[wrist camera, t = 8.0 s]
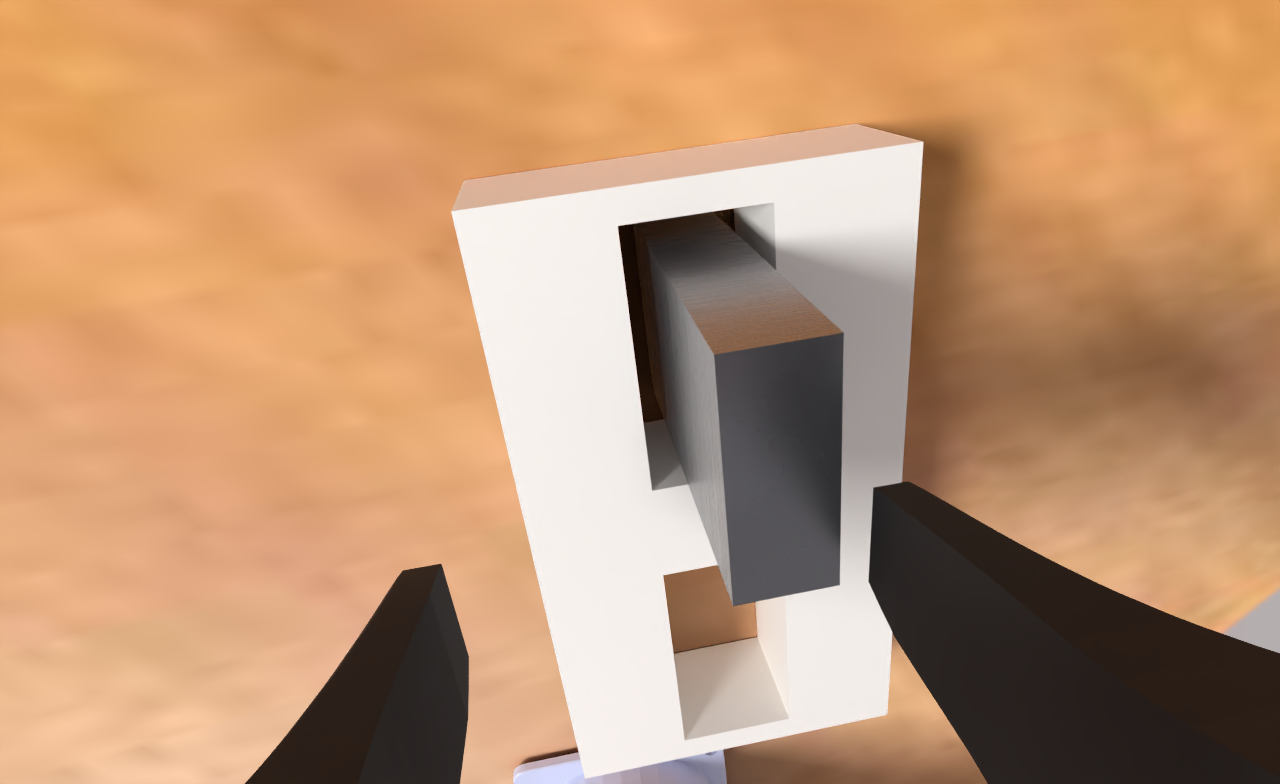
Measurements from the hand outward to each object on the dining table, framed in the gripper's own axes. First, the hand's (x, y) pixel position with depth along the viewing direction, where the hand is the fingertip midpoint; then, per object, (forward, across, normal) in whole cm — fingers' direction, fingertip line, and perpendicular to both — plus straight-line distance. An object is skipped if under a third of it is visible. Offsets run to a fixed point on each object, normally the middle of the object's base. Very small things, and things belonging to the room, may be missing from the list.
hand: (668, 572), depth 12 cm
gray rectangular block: (+9, -2, -1) cm, 10 cm away
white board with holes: (+9, -2, +4) cm, 10 cm away
